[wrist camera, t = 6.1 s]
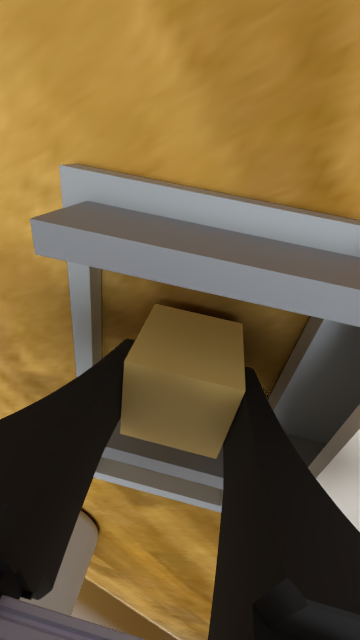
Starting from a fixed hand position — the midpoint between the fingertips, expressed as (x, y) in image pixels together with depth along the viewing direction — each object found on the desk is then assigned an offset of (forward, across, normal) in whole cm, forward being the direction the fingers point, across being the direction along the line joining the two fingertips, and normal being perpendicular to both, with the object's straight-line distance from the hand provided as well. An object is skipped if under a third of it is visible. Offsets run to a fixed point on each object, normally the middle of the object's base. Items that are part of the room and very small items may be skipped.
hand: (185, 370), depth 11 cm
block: (+2, 0, 0) cm, 2 cm away
